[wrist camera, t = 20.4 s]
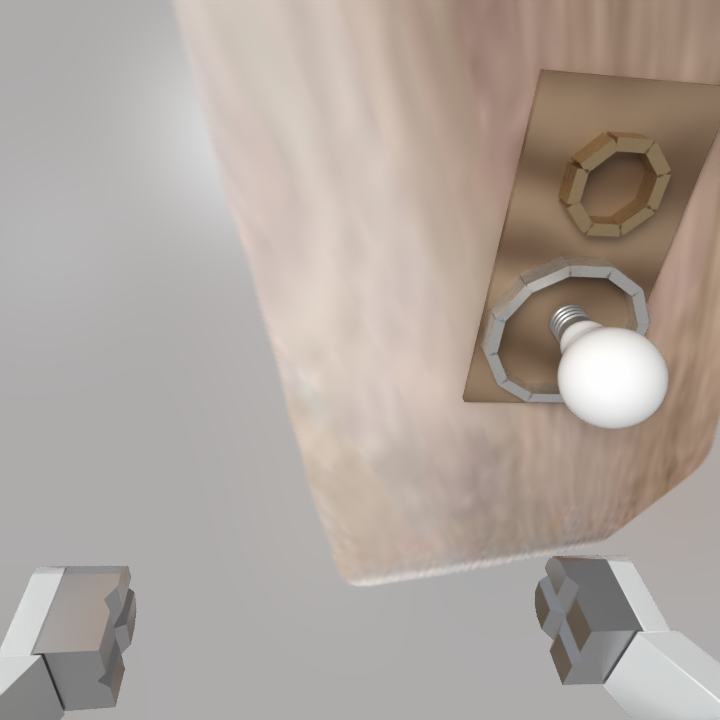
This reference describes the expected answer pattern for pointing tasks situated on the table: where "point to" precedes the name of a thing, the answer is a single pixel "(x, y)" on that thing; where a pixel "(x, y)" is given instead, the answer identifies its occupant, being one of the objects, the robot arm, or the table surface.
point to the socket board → (601, 195)
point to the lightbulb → (607, 370)
